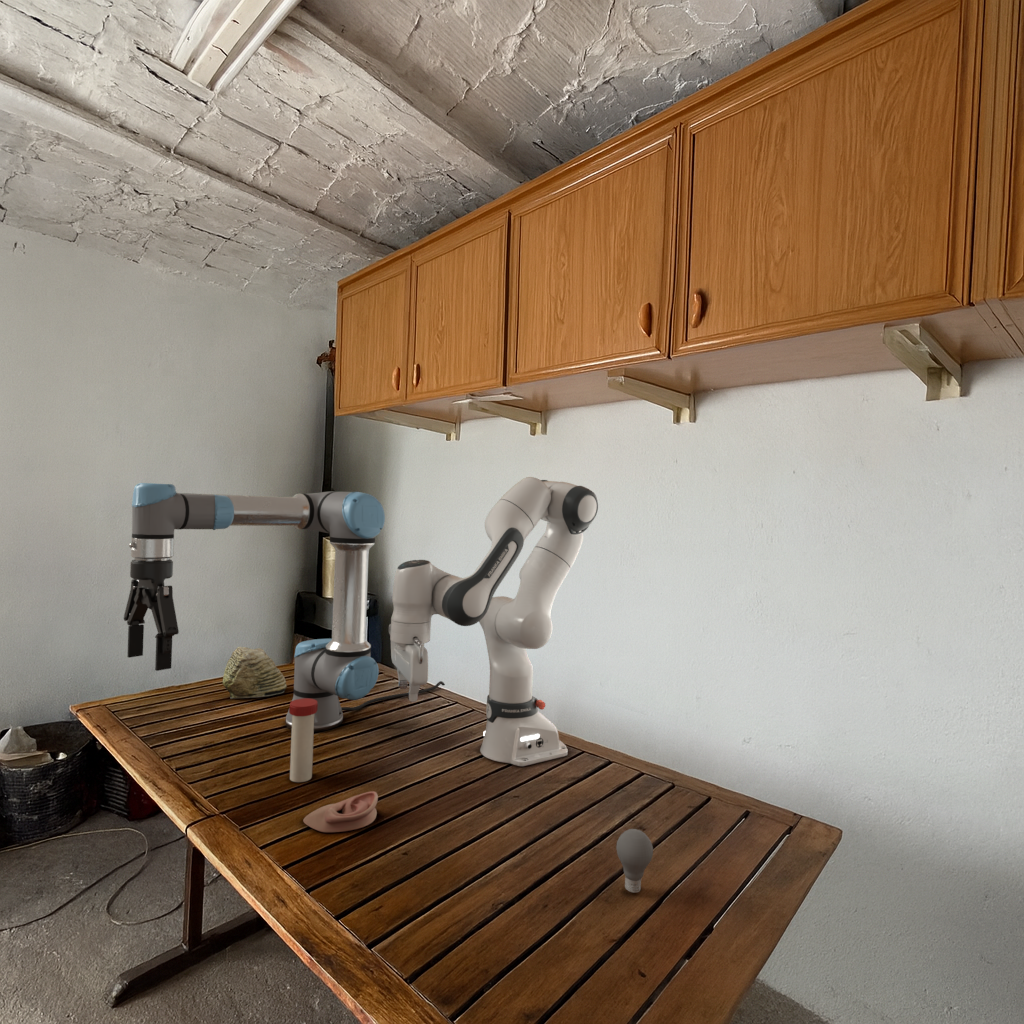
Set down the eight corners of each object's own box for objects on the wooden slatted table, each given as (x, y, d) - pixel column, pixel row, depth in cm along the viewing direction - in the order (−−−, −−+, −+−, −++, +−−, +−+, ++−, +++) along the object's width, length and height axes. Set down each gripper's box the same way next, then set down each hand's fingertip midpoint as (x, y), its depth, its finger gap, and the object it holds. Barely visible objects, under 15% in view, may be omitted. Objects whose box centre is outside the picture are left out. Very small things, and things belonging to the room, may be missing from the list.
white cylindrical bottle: (291, 783, 139) (294, 708, 139) (288, 774, 143) (291, 702, 143) (313, 780, 141) (316, 706, 141) (310, 771, 146) (312, 700, 145)
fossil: (218, 695, 195) (220, 647, 195) (278, 685, 208) (279, 640, 207) (228, 703, 189) (230, 653, 188) (289, 692, 201) (290, 645, 201)
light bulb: (610, 879, 108) (613, 822, 108) (644, 879, 109) (647, 822, 109) (619, 902, 102) (622, 840, 102) (655, 901, 103) (658, 840, 103)
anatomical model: (295, 807, 120) (325, 781, 132) (294, 828, 121) (324, 800, 132) (360, 817, 118) (384, 790, 129) (359, 838, 118) (384, 809, 129)
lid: (291, 717, 138) (291, 708, 138) (287, 709, 143) (287, 699, 143) (319, 714, 141) (319, 705, 141) (314, 706, 146) (315, 697, 146)
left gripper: (108, 554, 134) (104, 654, 134) (159, 565, 118) (155, 678, 119) (146, 552, 140) (143, 648, 140) (199, 563, 124) (195, 671, 124)
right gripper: (437, 642, 133) (433, 707, 133) (413, 623, 152) (410, 680, 152) (407, 643, 131) (404, 710, 131) (387, 624, 150) (384, 682, 150)
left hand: (148, 662), depth 129 cm, fingers open, 13 cm apart
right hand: (407, 694), depth 142 cm, fingers open, 8 cm apart
